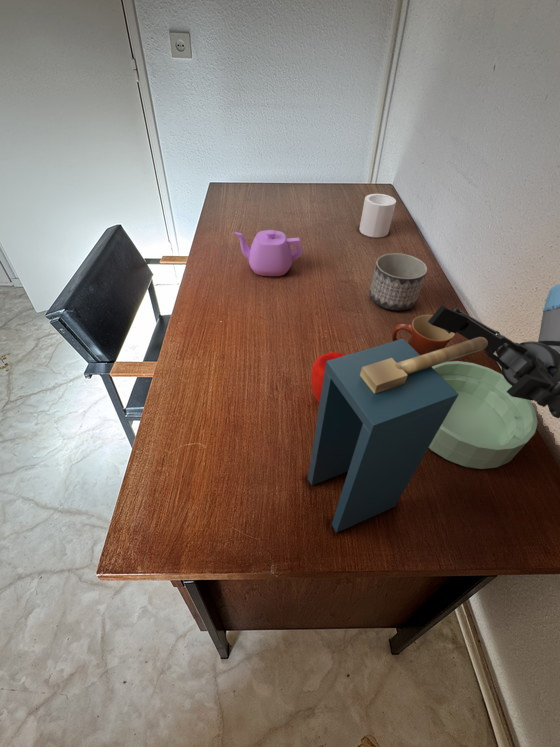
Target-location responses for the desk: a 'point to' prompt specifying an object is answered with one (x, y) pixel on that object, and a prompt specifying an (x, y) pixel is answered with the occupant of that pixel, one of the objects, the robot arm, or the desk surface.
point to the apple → (321, 372)
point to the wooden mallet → (414, 364)
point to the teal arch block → (375, 431)
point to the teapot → (270, 252)
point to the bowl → (482, 418)
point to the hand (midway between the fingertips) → (473, 346)
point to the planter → (397, 281)
